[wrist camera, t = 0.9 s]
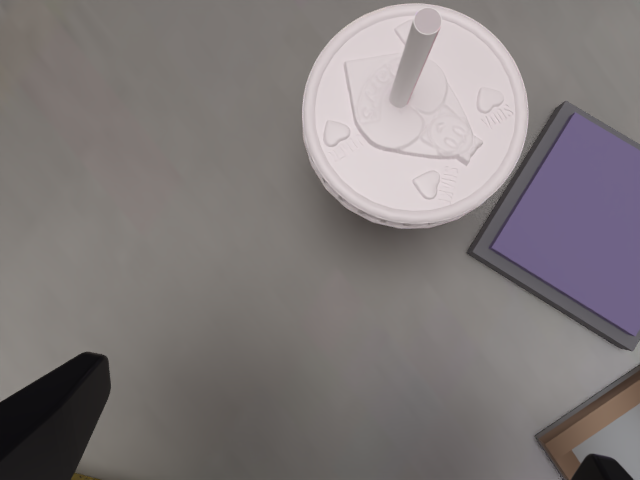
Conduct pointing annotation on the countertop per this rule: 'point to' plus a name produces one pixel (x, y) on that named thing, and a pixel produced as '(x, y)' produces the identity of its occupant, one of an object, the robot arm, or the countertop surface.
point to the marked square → (599, 429)
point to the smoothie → (414, 115)
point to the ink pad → (573, 225)
